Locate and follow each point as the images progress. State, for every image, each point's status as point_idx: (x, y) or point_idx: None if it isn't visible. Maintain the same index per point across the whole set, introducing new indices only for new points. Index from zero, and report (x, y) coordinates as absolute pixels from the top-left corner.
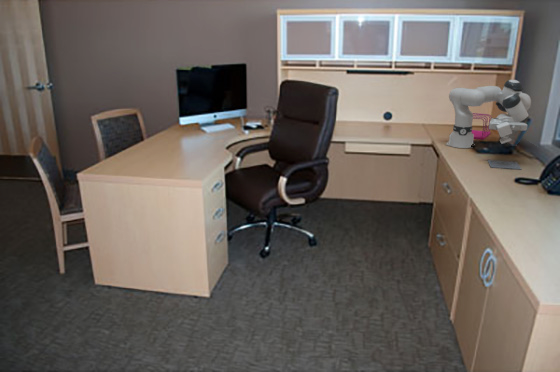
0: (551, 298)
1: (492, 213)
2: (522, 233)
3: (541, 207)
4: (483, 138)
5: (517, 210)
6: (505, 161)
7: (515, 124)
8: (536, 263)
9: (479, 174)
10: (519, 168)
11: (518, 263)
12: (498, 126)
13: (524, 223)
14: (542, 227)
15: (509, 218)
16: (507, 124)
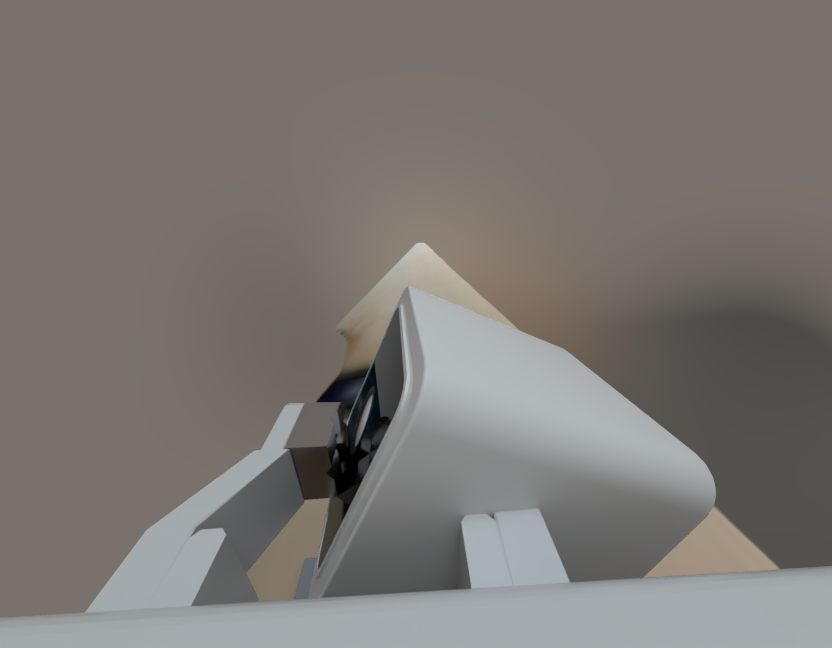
0: (418, 243)
1: (453, 281)
2: (423, 266)
3: (382, 298)
4: None
5: (420, 289)
6: None
7: (3, 625)
8: (419, 252)
9: None
10: (312, 571)
11: (432, 251)
12: (574, 364)
13: (417, 275)
14: (399, 273)
15: (433, 278)
16: (428, 295)
